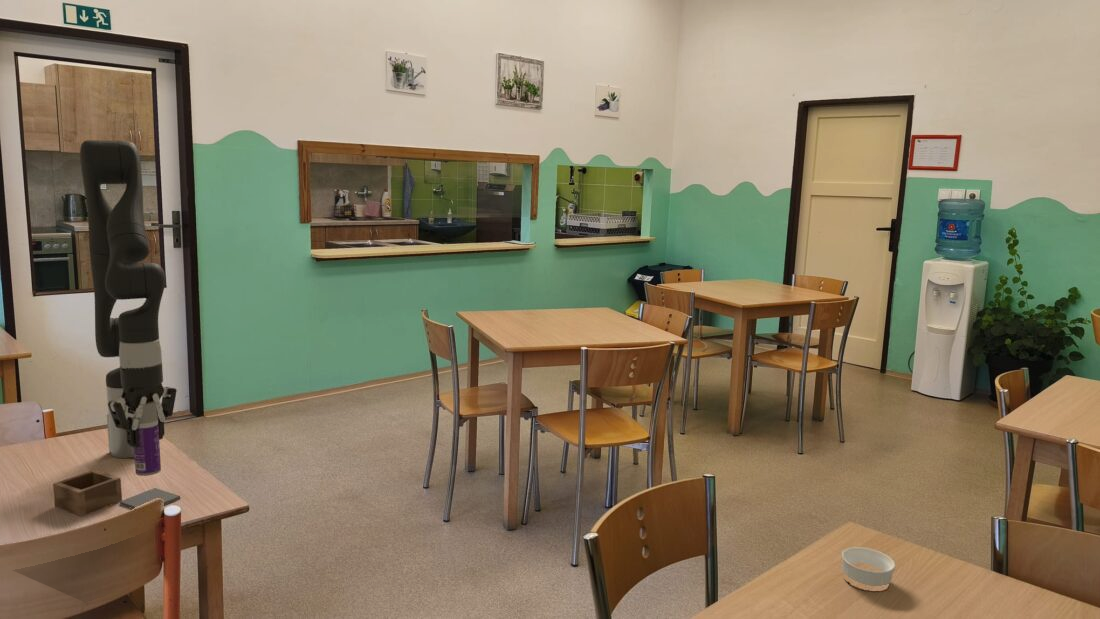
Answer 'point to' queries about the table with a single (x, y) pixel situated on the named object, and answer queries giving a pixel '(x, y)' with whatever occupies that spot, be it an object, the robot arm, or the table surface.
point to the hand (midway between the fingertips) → (146, 442)
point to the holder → (87, 492)
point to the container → (148, 442)
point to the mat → (149, 498)
